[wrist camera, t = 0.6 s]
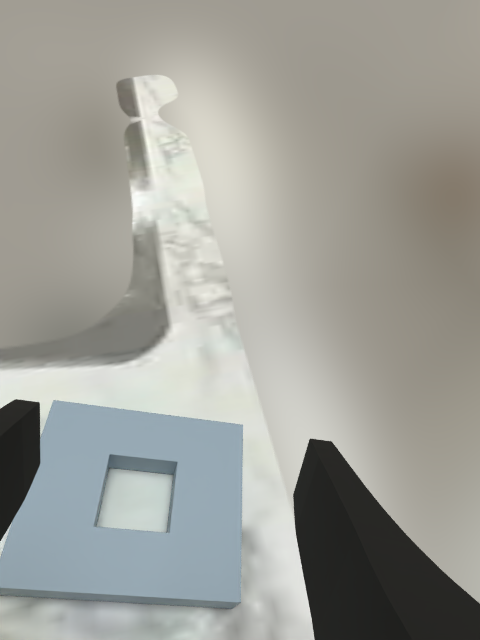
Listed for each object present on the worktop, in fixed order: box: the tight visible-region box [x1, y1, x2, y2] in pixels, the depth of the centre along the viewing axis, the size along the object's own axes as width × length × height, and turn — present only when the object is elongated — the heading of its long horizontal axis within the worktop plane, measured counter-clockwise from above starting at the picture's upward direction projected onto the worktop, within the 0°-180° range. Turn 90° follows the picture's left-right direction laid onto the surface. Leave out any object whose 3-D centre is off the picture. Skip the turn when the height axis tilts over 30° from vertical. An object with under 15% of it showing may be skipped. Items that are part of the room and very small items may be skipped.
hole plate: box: [0, 400, 243, 609], centre depth 26 cm, size 10×12×2 cm
